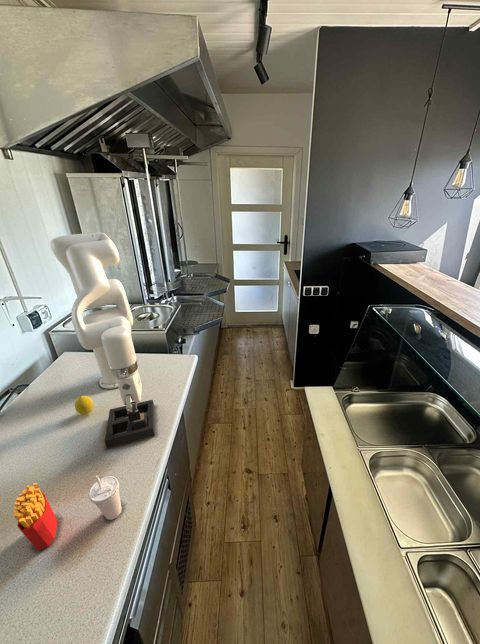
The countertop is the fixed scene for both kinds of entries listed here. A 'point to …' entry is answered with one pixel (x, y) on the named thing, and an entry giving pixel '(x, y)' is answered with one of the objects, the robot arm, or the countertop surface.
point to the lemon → (84, 405)
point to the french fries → (35, 517)
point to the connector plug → (140, 421)
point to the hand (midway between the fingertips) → (136, 409)
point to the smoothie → (106, 496)
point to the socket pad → (129, 425)
